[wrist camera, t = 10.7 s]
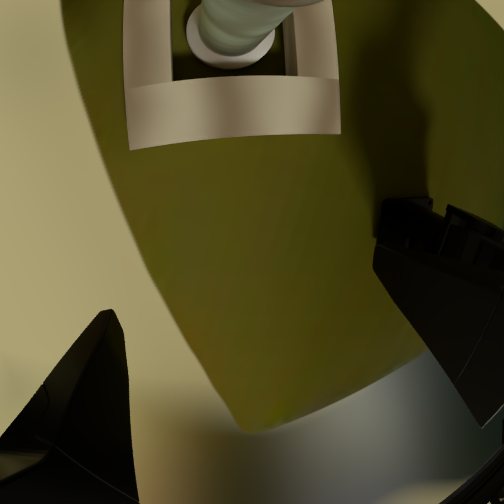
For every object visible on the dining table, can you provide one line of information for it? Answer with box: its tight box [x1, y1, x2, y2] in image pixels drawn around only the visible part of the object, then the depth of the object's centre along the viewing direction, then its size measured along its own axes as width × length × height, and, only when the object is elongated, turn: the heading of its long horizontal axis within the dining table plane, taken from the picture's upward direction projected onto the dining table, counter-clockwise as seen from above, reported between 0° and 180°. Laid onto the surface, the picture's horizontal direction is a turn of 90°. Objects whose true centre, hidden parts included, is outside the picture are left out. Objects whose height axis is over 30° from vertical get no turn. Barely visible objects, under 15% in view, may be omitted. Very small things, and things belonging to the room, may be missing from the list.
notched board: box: [123, 0, 341, 150], centre depth 16 cm, size 14×11×2 cm
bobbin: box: [186, 0, 324, 70], centre depth 11 cm, size 6×6×13 cm
